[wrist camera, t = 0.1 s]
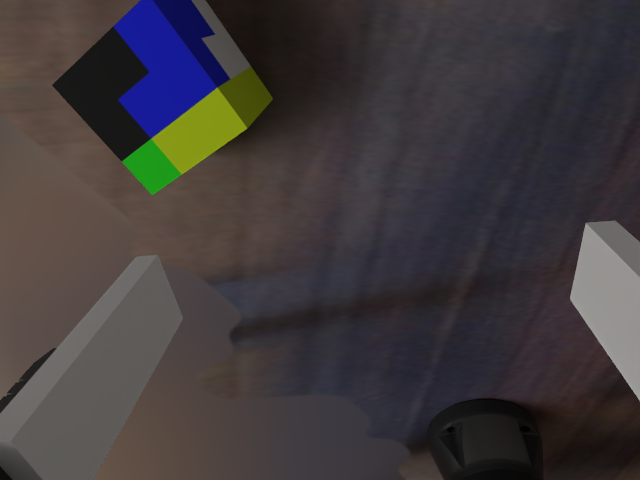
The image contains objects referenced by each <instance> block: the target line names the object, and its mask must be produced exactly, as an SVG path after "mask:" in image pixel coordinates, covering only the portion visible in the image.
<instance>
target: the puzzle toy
mask: <svg viewBox="0 0 640 480" xmlns="http://www.w3.org/2000/svg"><path fill="white" fill-rule="evenodd" d="M52 86H53V87H54V88H55V89H56V90H57V91H58V92H59V93H60V95H61V96H62V97H63V98H64V99H65V100H66V101H67V102H68V103H69V104H70V105H71V107H72V108H73V109H74V110H75V111H76V112H77V113H78V114H79V115H80V116H81V118H82V119H83V120H84V121H85V122H86V123H87V124H88V125H89V126H90V127H91V128H92V130H93V131H94V132H95V133H96V134H97V135H98V136H99V137H100V138H101V139H102V141H103V142H104V143H105V144H106V145H107V146H108V147H109V148H110V149H111V150H112V152H113V153H114V154H115V155H116V156H117V157H118V158H119V159H120V160H121V161H122V162H123V164H124V165H125V166H126V167H127V168H128V169H129V170H130V171H131V172H132V173H133V175H134V176H135V177H136V178H137V179H138V180H139V181H140V182H141V183H142V184H143V185H144V187H145V188H146V189H147V190H148V191H149V192H150V193H151V194H152V195H153V194H155V193H156V192H158V191H159V190H160V189H162V188H163V187H165V186H166V185H168V184H169V183H170V182H172V181H173V180H175V179H176V178H177V177H179V176H180V175H182V174H183V173H185V172H186V171H187V170H189V169H190V168H192V167H193V166H195V165H196V164H197V163H199V162H200V161H202V160H203V159H205V158H206V157H207V156H209V155H210V154H212V153H213V152H215V151H216V150H217V149H219V148H220V147H222V146H223V145H225V144H226V143H227V142H229V141H230V140H232V139H233V138H235V137H236V136H237V135H239V134H240V133H242V132H243V131H245V130H246V129H247V128H248V127H249V126H250V125H251V124H252V123H253V122H254V120H255V119H256V118H257V117H258V116H259V115H260V114H261V112H262V111H263V110H264V109H265V108H266V107H267V105H268V104H269V103H270V102H271V101H272V100H273V98H272V96H271V95H270V93H269V92H268V90H267V89H266V87H265V86H264V84H263V83H262V82H261V80H260V79H259V77H258V76H257V74H256V73H255V71H254V70H253V69H252V67H251V66H250V64H249V63H248V61H247V60H246V58H245V57H244V55H243V54H242V53H241V51H240V50H239V48H238V47H237V45H236V44H235V42H234V41H233V39H232V38H231V37H230V35H229V34H228V32H227V31H226V29H225V28H224V26H223V25H222V23H221V22H220V21H219V19H218V18H217V16H216V15H215V13H214V12H213V10H212V9H211V7H210V6H209V5H208V3H207V2H206V0H140V1H139V2H138V3H137V4H136V5H135V6H134V7H133V8H132V9H131V10H130V11H129V12H128V13H127V14H126V15H125V16H124V17H123V18H122V19H121V20H120V21H119V22H117V23H116V24H115V25H114V26H113V27H112V28H111V29H110V30H109V31H108V32H107V33H106V34H105V35H104V36H103V37H102V38H101V39H100V40H99V41H98V42H97V43H96V44H95V45H93V46H92V47H91V48H90V49H89V50H88V51H87V52H86V53H85V54H84V55H83V56H82V57H81V58H80V59H79V60H78V61H77V62H76V63H75V64H74V65H73V66H72V67H71V68H69V69H68V70H67V71H66V72H65V73H64V74H63V75H62V76H61V77H60V78H59V79H58V80H57V81H56V82H55V83H54V84H53V85H52Z"/></svg>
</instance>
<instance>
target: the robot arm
mask: <svg viewBox="0 0 640 480" xmlns="http://www.w3.org/2000/svg"><path fill="white" fill-rule="evenodd" d="M570 300H571V301H572V303H573V304H574V306H575V307H576V309H577V310H578V311H579V313H580V314H581V316H582V317H583V319H584V320H585V322H586V323H587V325H588V326H589V327H590V329H591V330H592V332H593V333H594V335H595V336H596V338H597V339H598V341H599V342H600V343H601V345H602V346H603V348H604V349H605V351H606V352H607V354H608V355H609V357H610V358H611V359H612V361H613V362H614V364H615V365H616V367H617V368H618V370H619V371H620V373H621V374H622V375H623V377H624V378H625V380H626V381H627V383H628V384H629V386H630V387H631V389H632V390H633V391H634V393H635V394H636V396H637V397H638V399H639V400H640V242H639V241H638V240H636V239H635V238H634V237H633V236H632V235H631V234H630V233H629V232H627V231H626V230H625V229H624V228H623V227H622V226H621V225H620V224H618V223H617V222H616V221H605V222H591V223H586V225H585V230H584V234H583V239H582V244H581V249H580V253H579V258H578V263H577V268H576V272H575V277H574V282H573V287H572V292H571V296H570ZM182 320H183V317H182V314H181V312H180V309H179V307H178V304H177V302H176V300H175V297H174V294H173V292H172V290H171V287H170V285H169V282H168V279H167V277H166V274H165V272H164V269H163V267H162V264H161V262H160V259H159V257H158V255H152V256H138V257H136V258H135V259H134V260H133V261H132V262H131V264H130V265H129V266H128V267H127V268H126V269H125V271H124V272H123V273H122V274H121V275H120V276H119V278H118V279H117V280H116V281H115V282H114V283H113V284H112V285H111V287H110V288H109V289H108V290H107V291H106V292H105V294H104V295H103V296H102V297H101V298H100V299H99V300H98V302H97V303H96V304H95V305H94V306H93V307H92V309H91V310H90V311H89V312H88V313H87V314H86V315H85V317H84V318H83V319H82V320H81V321H80V322H79V324H78V325H77V326H76V327H75V328H74V329H73V330H72V332H71V333H70V334H69V335H68V336H67V337H66V338H65V340H64V341H63V342H62V343H61V344H60V345H59V347H58V348H53V349H52V350H51V351H49V352H48V353H47V354H45V355H44V356H43V357H41V358H40V359H39V360H37V361H36V362H35V363H33V365H32V366H31V367H30V368H29V369H28V370H27V371H26V372H25V374H24V375H23V376H22V377H21V378H20V379H19V383H15V385H14V386H13V387H12V388H11V389H10V390H9V391H8V392H7V396H6V397H3V398H2V399H1V400H0V480H93V479H94V478H95V476H96V474H97V472H98V470H99V468H100V466H101V465H102V463H103V461H104V460H105V457H106V456H107V454H108V452H109V451H110V449H111V447H112V445H113V444H114V442H115V440H116V438H117V436H118V435H119V433H120V431H121V429H122V427H123V426H124V424H125V422H126V420H127V418H128V417H129V414H130V413H131V411H132V409H133V408H134V406H135V404H136V402H137V400H138V399H139V397H140V395H141V393H142V391H143V390H144V388H145V386H146V384H147V382H148V381H149V379H150V377H151V375H152V373H153V372H154V370H155V368H156V366H157V364H158V363H159V361H160V359H161V357H162V355H163V354H164V352H165V350H166V348H167V346H168V345H169V343H170V341H171V339H172V337H173V336H174V334H175V332H176V330H177V329H178V327H179V325H180V323H181V321H182ZM428 440H429V447H430V451H431V455H432V457H433V459H434V461H435V463H436V465H437V467H438V469H439V471H440V473H441V475H442V477H443V479H444V480H544V476H543V450H542V439H541V435H540V433H539V430H538V428H537V425H536V423H535V421H534V419H533V417H532V416H531V415H530V414H529V413H528V412H527V411H525V410H524V409H522V408H521V407H519V406H517V405H514V404H511V403H508V402H504V401H499V400H473V401H467V402H463V403H459V404H456V405H454V406H451V407H449V408H447V409H446V410H444V411H442V412H441V413H440V414H438V415H437V416H436V417H435V418H434V420H433V421H432V422H431V424H430V426H429V429H428Z"/></svg>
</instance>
